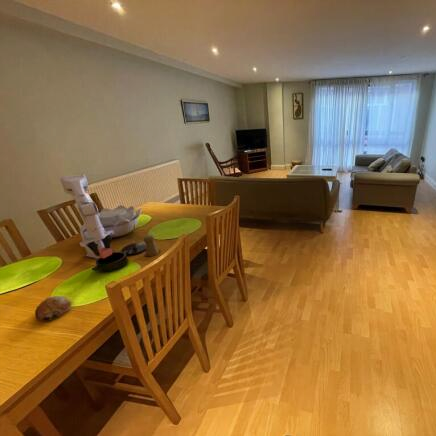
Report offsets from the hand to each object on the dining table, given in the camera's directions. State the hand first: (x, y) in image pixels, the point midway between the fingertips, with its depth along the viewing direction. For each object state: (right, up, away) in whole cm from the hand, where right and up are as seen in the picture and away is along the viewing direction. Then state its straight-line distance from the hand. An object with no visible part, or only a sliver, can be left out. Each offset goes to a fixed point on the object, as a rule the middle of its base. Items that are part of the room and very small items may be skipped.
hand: (102, 252), depth 118 cm
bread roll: (+2, -20, -26) cm, 32 cm away
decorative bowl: (-20, +6, +39) cm, 44 cm away
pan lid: (+3, 0, +20) cm, 20 cm away
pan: (+2, -7, +4) cm, 9 cm away
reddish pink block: (0, -1, +1) cm, 1 cm away
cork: (+15, -3, +16) cm, 22 cm away
